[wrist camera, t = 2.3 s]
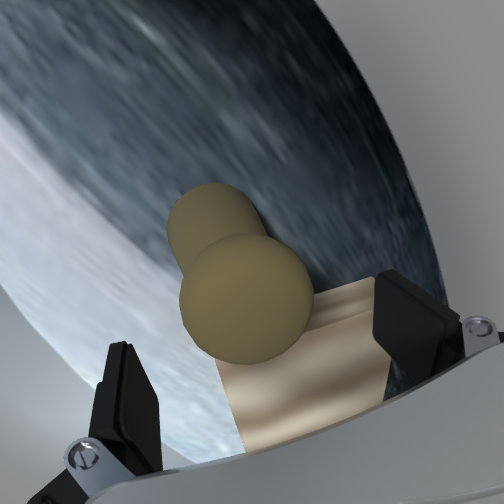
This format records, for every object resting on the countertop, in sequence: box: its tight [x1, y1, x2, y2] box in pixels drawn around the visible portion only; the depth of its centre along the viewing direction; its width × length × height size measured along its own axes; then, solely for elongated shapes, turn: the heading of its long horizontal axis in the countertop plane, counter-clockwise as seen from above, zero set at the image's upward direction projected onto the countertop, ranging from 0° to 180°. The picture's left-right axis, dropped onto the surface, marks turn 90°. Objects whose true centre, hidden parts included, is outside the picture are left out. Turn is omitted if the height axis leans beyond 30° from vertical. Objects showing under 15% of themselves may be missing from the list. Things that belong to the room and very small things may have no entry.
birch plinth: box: [215, 276, 391, 452], centre depth 25 cm, size 14×14×4 cm
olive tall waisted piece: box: [167, 183, 314, 365], centre depth 16 cm, size 6×6×11 cm
